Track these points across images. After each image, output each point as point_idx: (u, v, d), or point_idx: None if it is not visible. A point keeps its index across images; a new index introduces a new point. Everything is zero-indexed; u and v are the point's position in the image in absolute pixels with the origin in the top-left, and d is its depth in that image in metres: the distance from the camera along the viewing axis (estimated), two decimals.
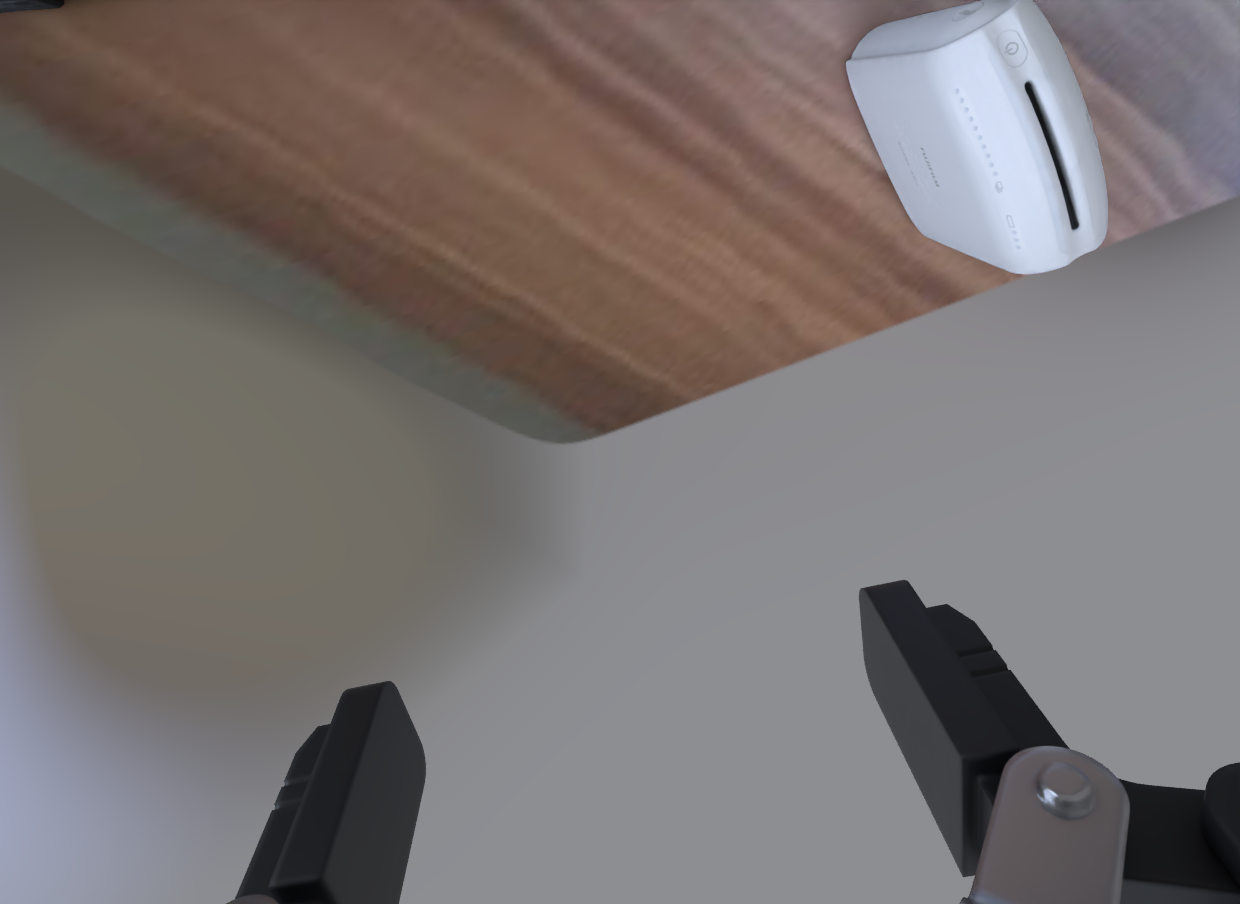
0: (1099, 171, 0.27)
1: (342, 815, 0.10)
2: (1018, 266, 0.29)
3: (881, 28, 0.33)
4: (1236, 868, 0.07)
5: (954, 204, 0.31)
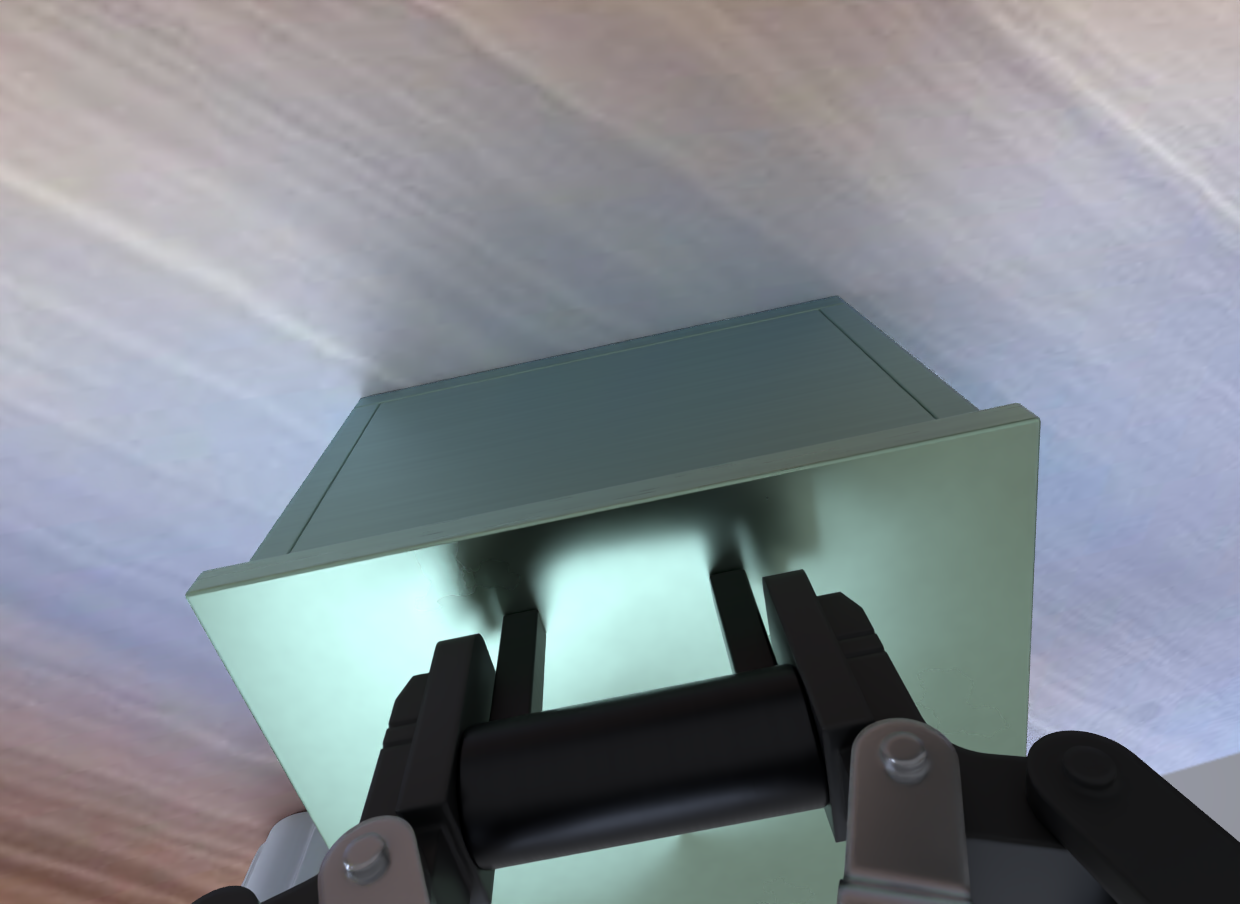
0: None
1: (455, 749, 0.11)
2: None
3: (268, 849, 0.32)
4: (1046, 824, 0.08)
5: None
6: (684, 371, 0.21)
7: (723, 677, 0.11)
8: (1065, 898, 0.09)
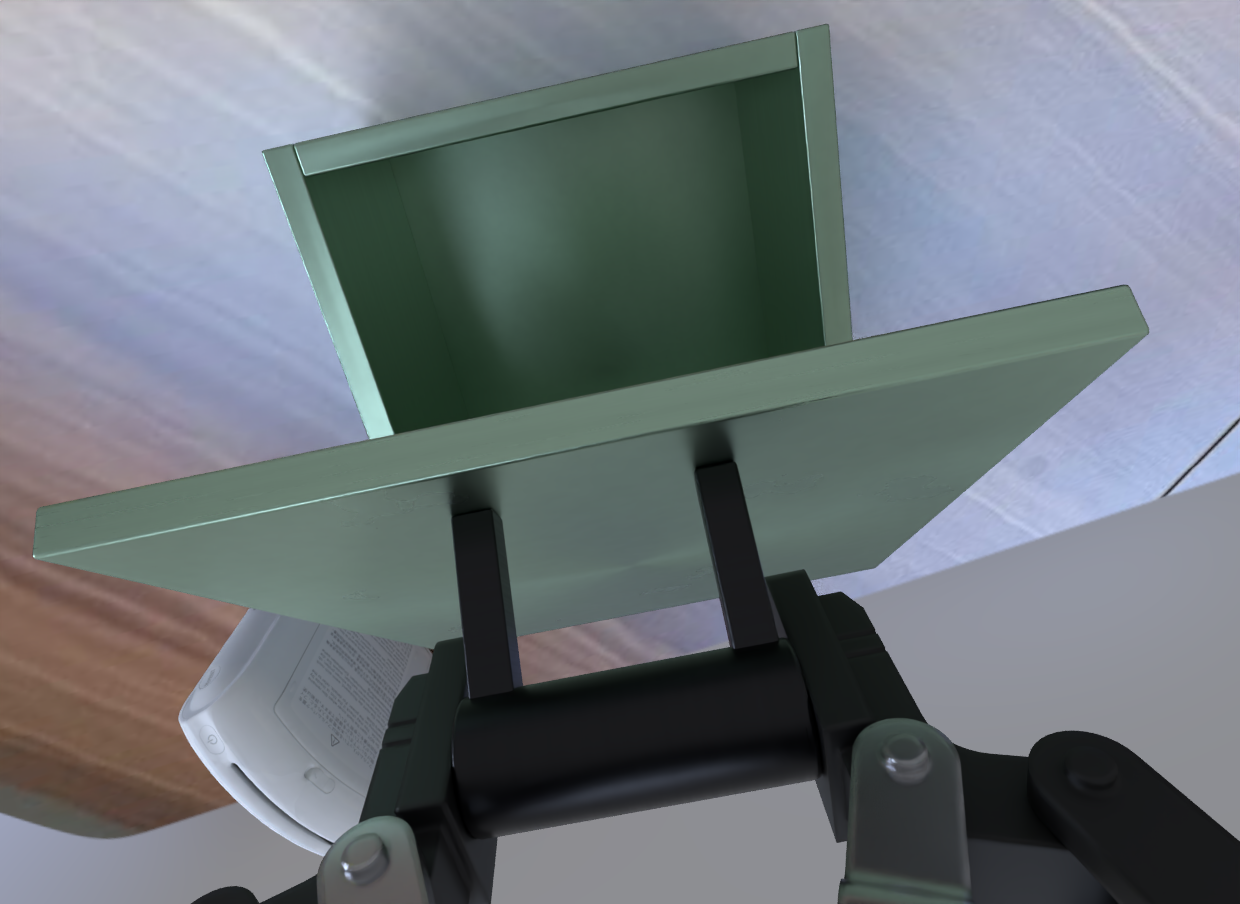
0: (333, 811, 0.30)
1: None
2: None
3: None
4: (1047, 825, 0.08)
5: None
6: None
7: (725, 679, 0.11)
8: (1067, 899, 0.08)
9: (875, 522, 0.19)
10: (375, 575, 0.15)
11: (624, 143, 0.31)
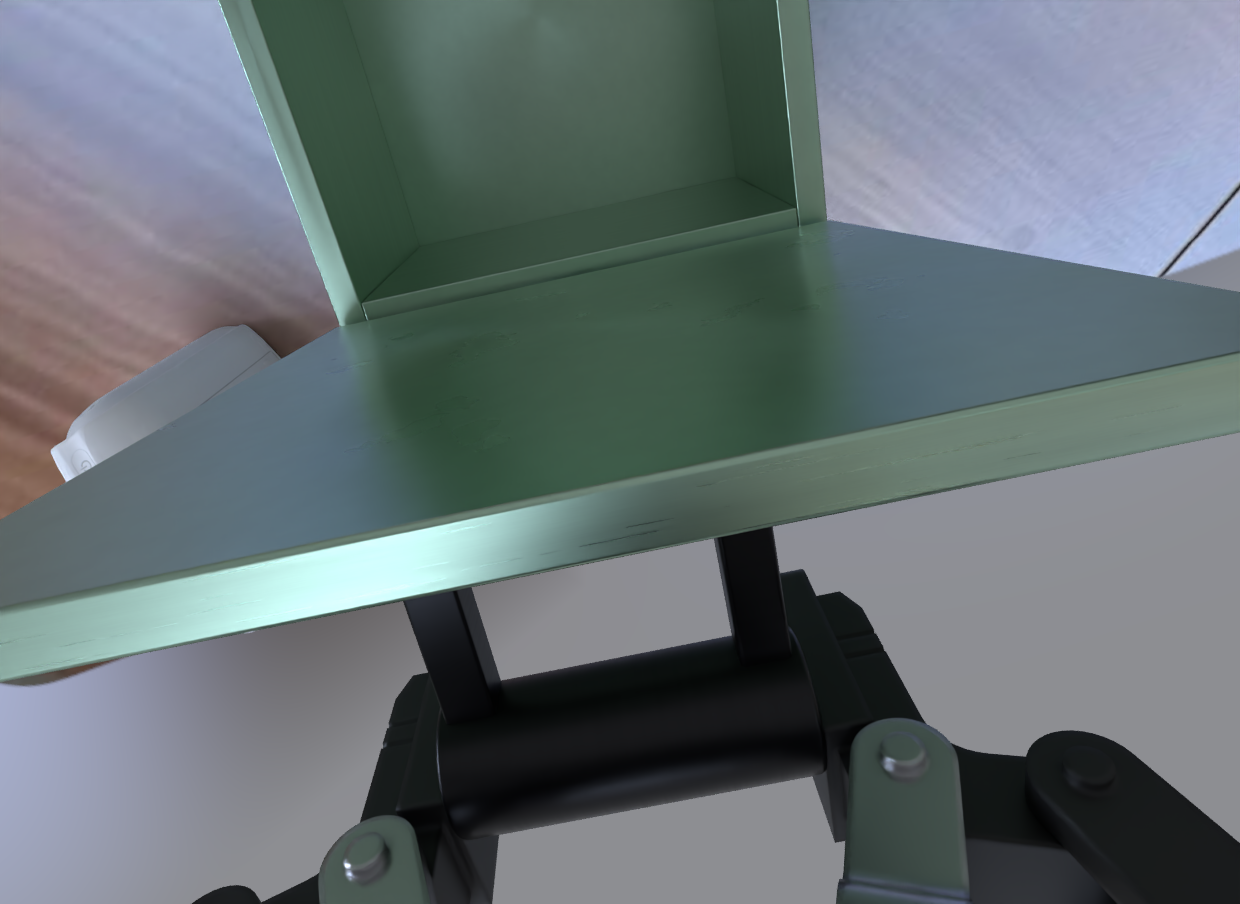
0: None
1: None
2: None
3: None
4: (1045, 824, 0.08)
5: None
6: None
7: (736, 721, 0.10)
8: (1064, 898, 0.09)
9: None
10: None
11: None
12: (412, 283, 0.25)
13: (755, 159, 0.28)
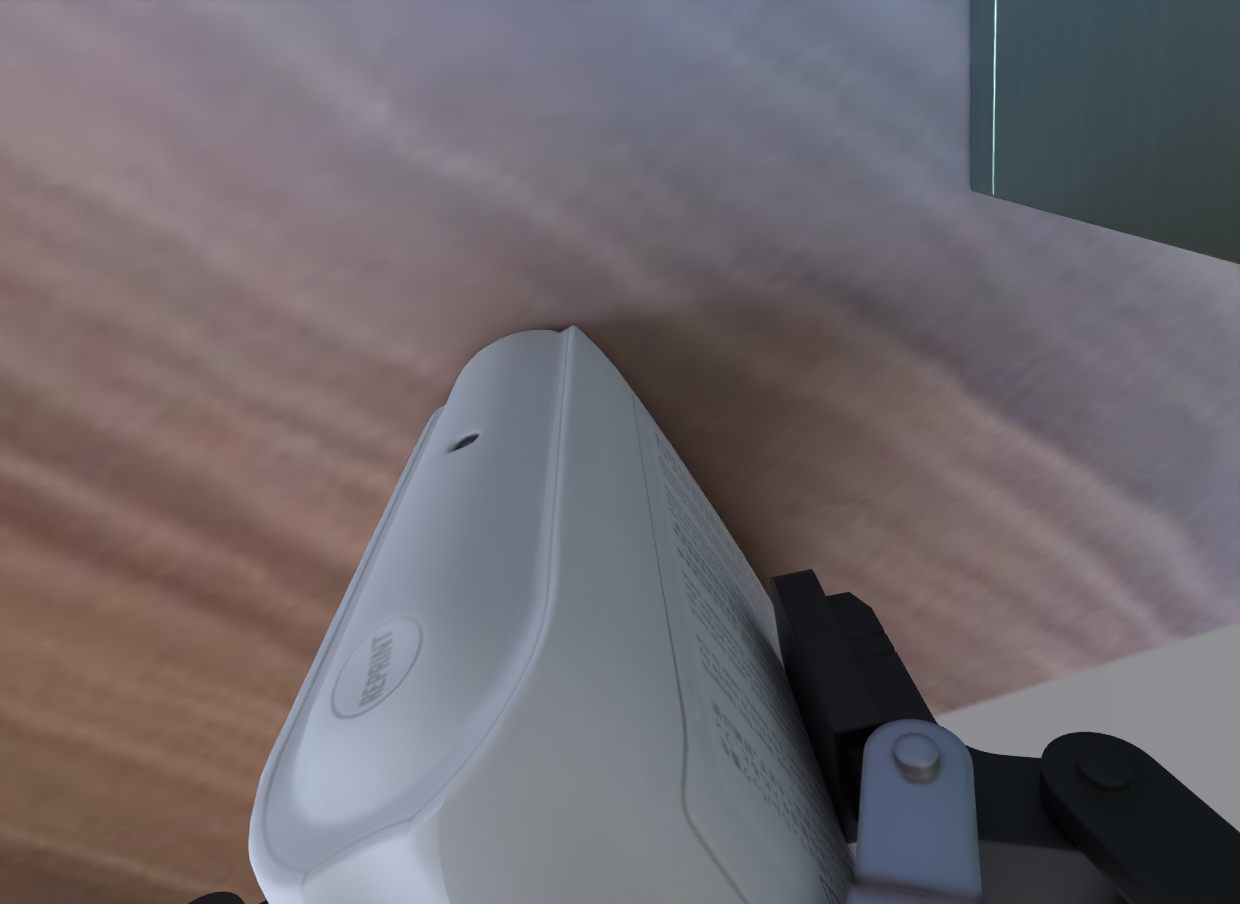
0: None
1: None
2: None
3: (474, 370, 0.14)
4: (1061, 827, 0.08)
5: None
6: None
7: None
8: (1080, 901, 0.08)
9: None
10: None
11: None
12: None
13: None
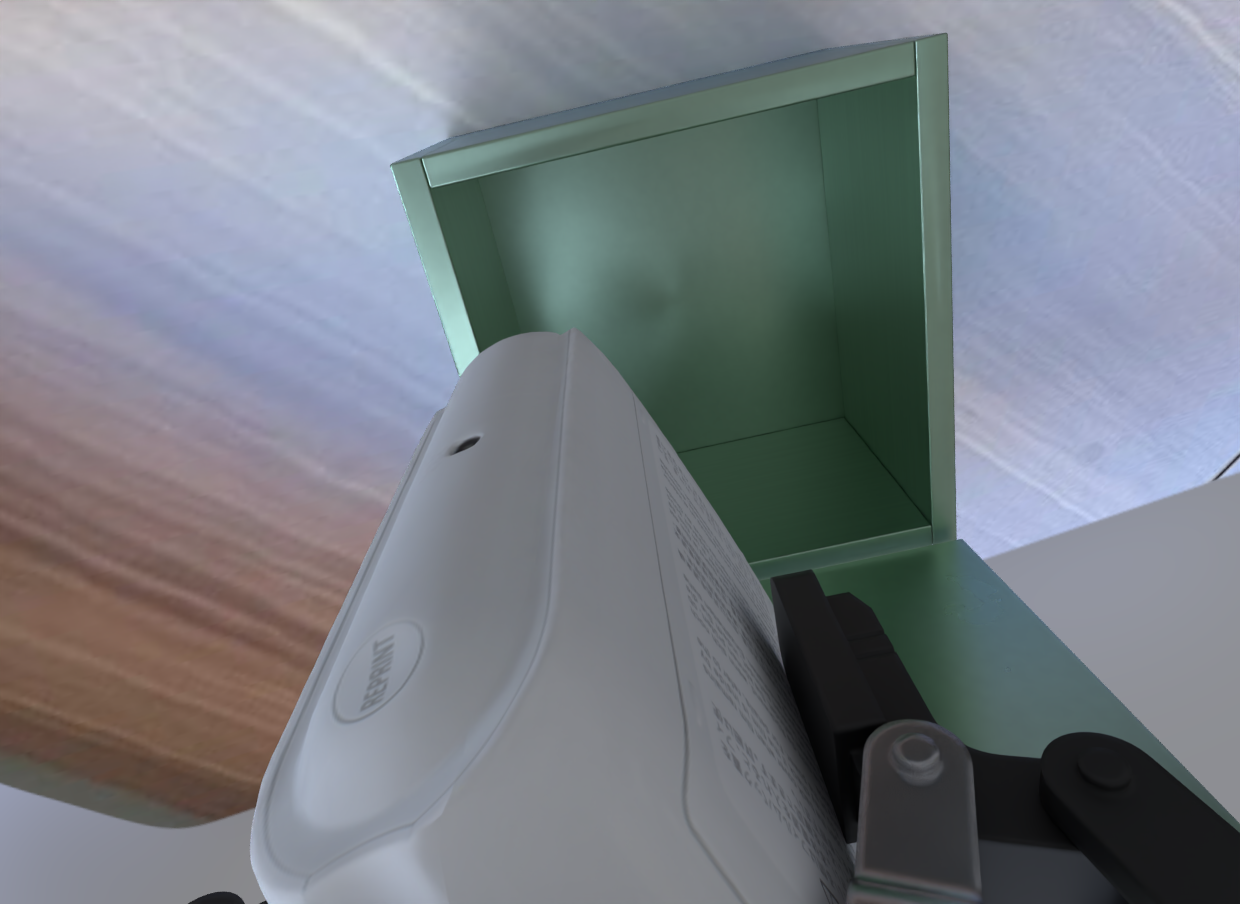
0: None
1: None
2: None
3: (475, 372, 0.14)
4: (1061, 826, 0.08)
5: None
6: (708, 79, 0.27)
7: None
8: (1080, 901, 0.08)
9: None
10: None
11: (704, 143, 0.31)
12: None
13: (876, 437, 0.32)
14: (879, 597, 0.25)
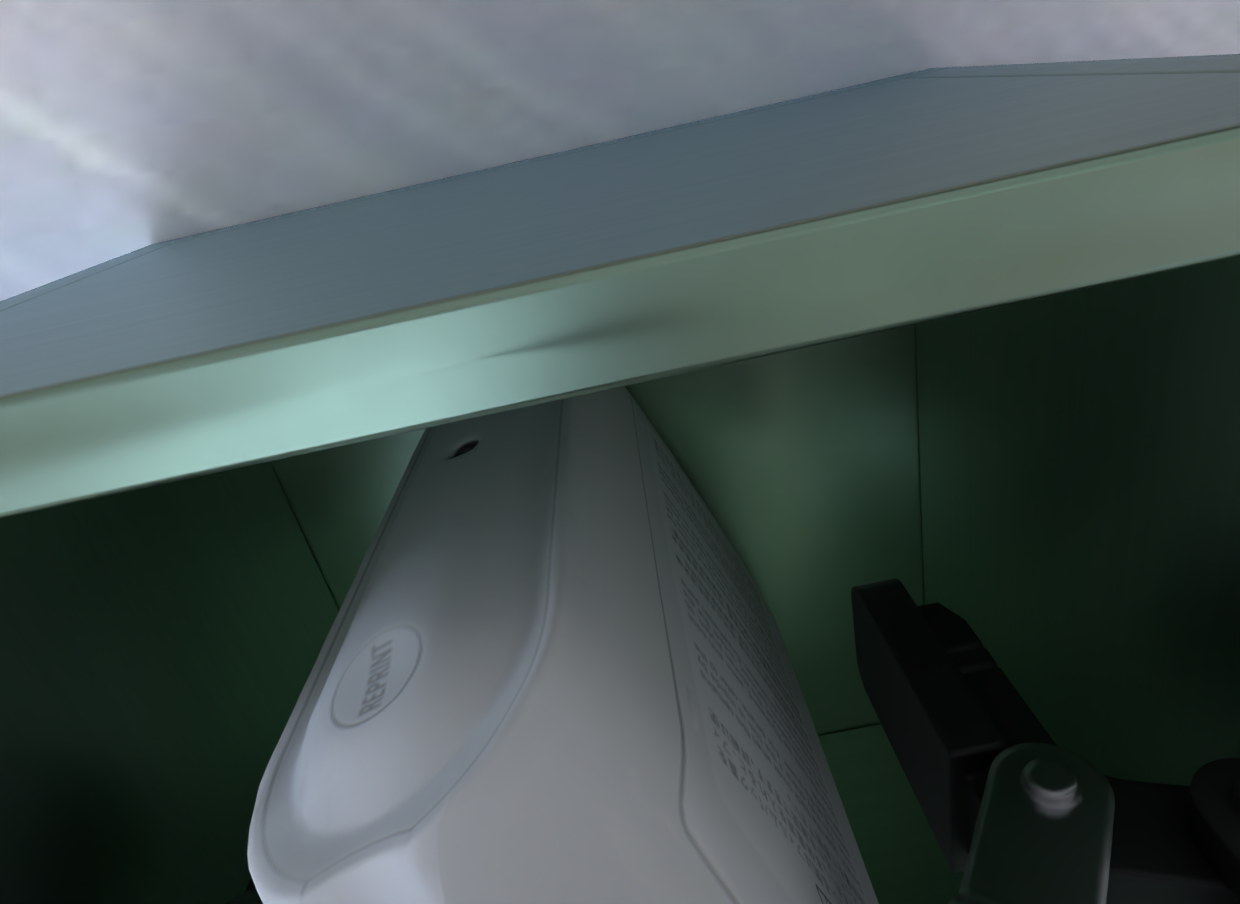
0: None
1: None
2: None
3: None
4: (1219, 863, 0.08)
5: None
6: (676, 145, 0.11)
7: None
8: None
9: None
10: None
11: None
12: None
13: None
14: None
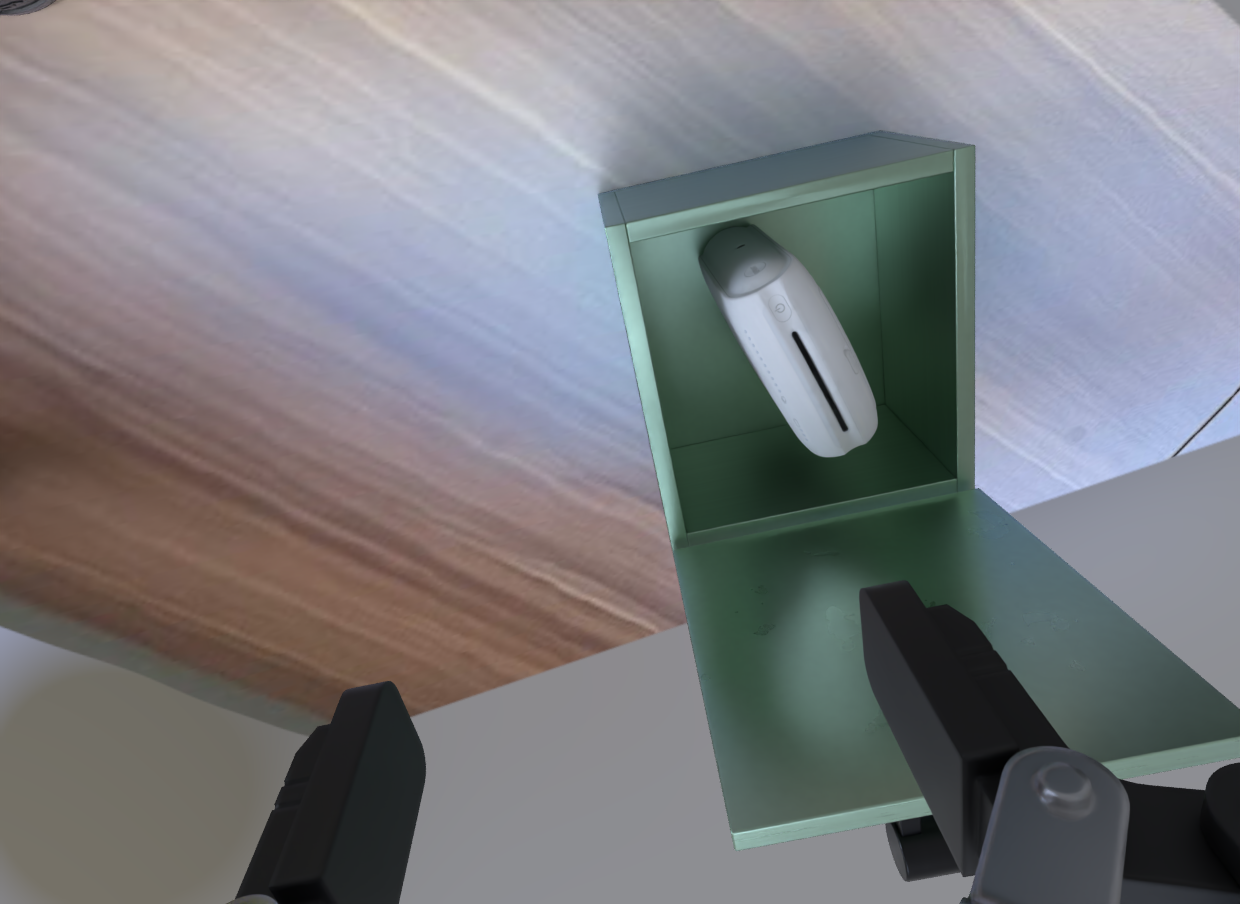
0: (858, 391, 0.34)
1: (342, 815, 0.10)
2: (811, 450, 0.37)
3: (721, 237, 0.41)
4: (1236, 868, 0.07)
5: (769, 393, 0.38)
6: (800, 158, 0.38)
7: None
8: None
9: None
10: None
11: None
12: (709, 514, 0.40)
13: (913, 418, 0.43)
14: (922, 525, 0.36)
